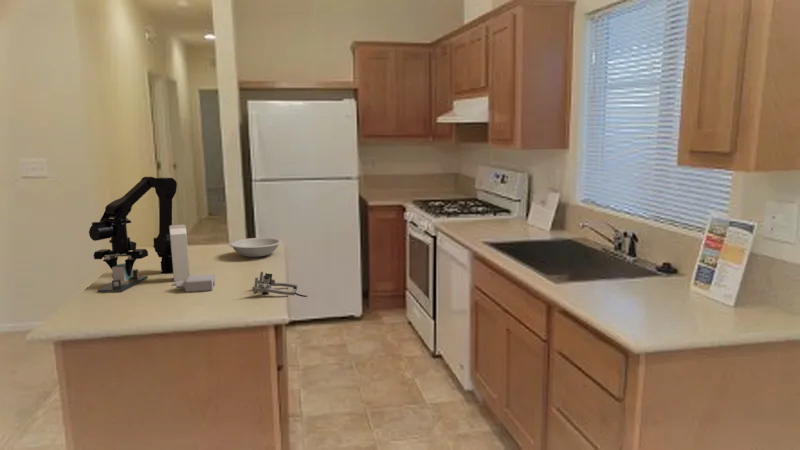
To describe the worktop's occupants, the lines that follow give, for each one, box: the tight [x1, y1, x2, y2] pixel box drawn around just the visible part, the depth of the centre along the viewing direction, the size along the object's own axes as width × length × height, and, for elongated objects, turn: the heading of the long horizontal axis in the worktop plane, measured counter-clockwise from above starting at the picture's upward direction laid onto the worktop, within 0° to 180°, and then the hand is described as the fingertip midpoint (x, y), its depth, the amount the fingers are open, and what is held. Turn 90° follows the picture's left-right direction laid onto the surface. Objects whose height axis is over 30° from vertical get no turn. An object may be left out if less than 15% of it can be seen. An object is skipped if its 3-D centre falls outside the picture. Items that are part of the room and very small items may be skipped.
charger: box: [170, 273, 216, 293], centre depth 215 cm, size 5×9×15 cm
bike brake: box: [251, 271, 308, 298], centre depth 208 cm, size 14×7×20 cm
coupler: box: [111, 262, 134, 281], centre depth 222 cm, size 7×4×5 cm, turn 178°
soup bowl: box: [228, 237, 283, 258], centre depth 270 cm, size 24×24×7 cm
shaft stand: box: [97, 268, 149, 293], centre depth 223 cm, size 9×20×4 cm, turn 178°
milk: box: [169, 224, 191, 283], centre depth 228 cm, size 6×6×22 cm
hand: (123, 275), depth 222 cm, fingers closed on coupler, 4 cm apart
